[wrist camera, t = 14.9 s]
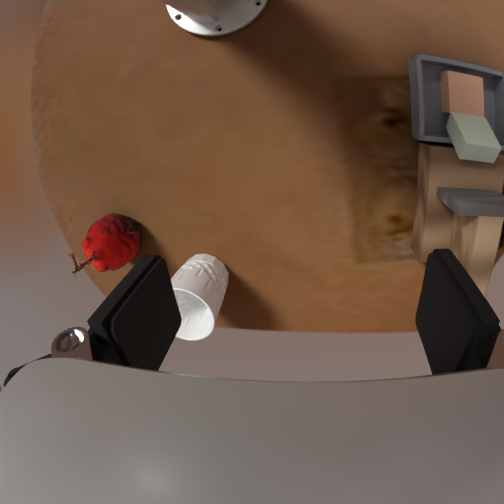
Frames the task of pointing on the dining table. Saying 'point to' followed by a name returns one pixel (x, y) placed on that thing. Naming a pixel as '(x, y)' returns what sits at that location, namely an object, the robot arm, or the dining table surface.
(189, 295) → the white cup
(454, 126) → the tile sage
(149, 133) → the dining table surface
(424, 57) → the tray
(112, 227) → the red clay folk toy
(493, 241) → the scraper
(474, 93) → the tile terracotta
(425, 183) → the wooden block
